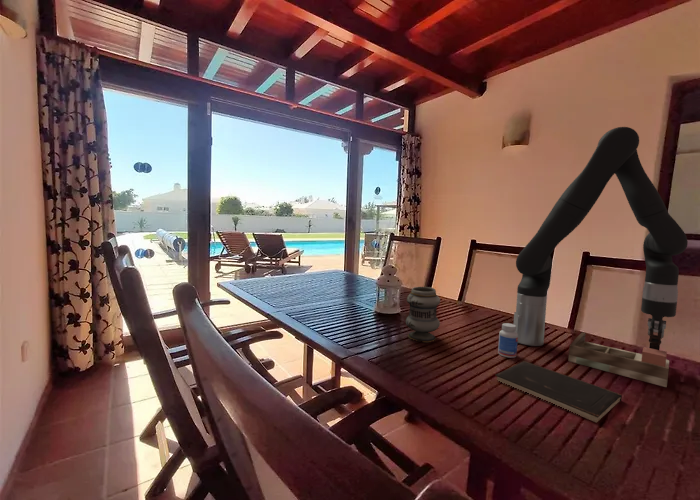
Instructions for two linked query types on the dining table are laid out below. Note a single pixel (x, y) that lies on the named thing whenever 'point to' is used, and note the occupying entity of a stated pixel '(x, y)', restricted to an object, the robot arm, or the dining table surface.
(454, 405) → the dining table surface
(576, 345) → the trap tray
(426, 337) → the apothecary jar
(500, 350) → the pill bottle
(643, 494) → the dining table surface
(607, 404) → the hardcover book
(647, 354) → the brown block
